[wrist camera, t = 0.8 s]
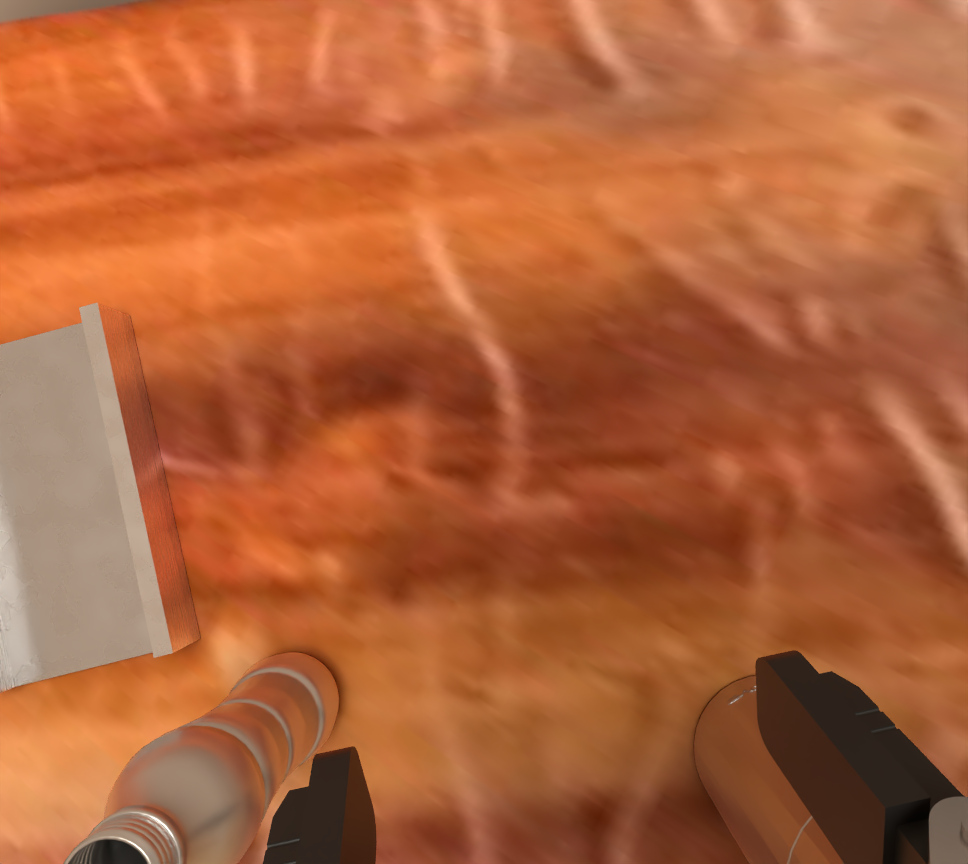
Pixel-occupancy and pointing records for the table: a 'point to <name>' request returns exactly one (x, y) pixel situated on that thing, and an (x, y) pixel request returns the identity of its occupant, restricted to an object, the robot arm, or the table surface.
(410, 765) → the table surface
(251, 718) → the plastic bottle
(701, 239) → the table surface
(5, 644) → the aluminium track
